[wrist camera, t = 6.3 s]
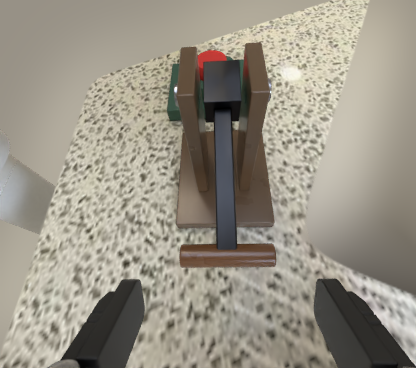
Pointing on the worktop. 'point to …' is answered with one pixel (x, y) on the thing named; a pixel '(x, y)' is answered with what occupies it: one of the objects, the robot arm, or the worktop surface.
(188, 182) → the bracket
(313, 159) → the worktop surface
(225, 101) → the lever
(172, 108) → the button box
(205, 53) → the button
